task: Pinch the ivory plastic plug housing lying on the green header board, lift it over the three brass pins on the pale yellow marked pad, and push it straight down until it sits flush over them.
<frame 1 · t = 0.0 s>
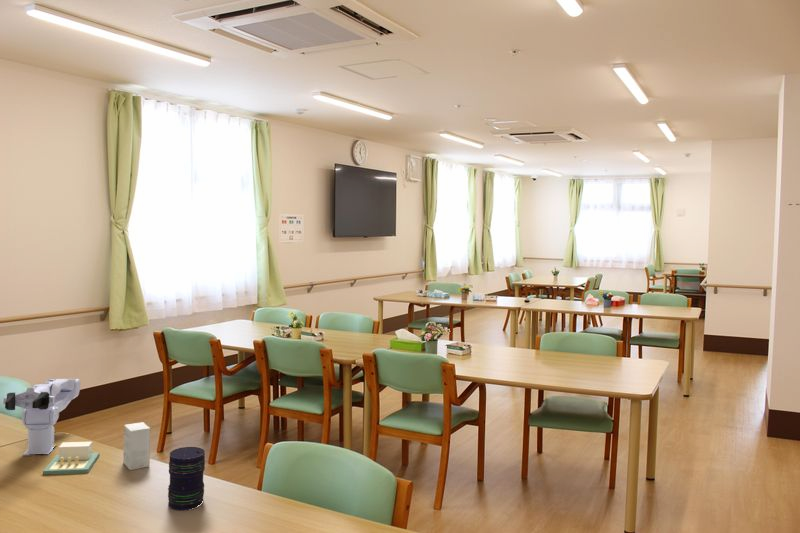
hand: (20, 405, 191), 22 cm above the table, tool horizontal, fingers open, 7 cm apart
housing: (75, 457, 204), point 1 cm above the table, touching header board
small box: (136, 465, 203), on the table
header board: (72, 464, 200), on the table
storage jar: (185, 503, 177), on the table
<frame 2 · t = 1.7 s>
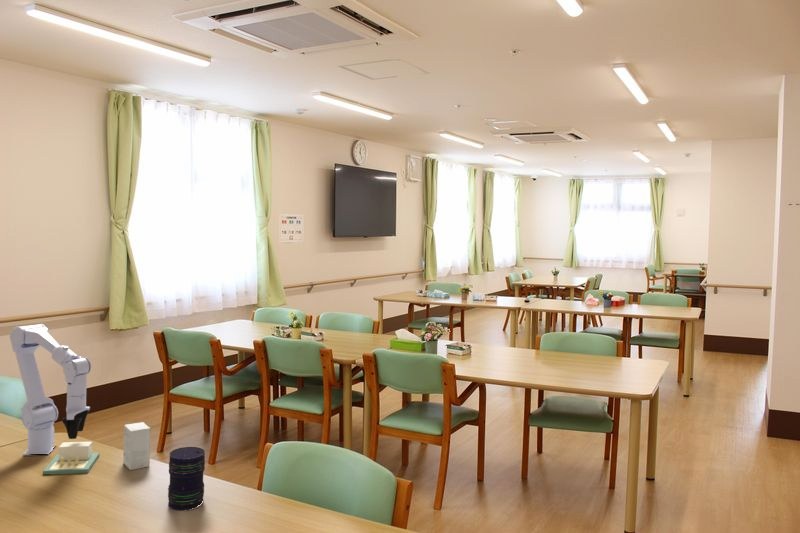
hand: (75, 434, 203), 9 cm above the table, tool pointing down, fingers open, 7 cm apart
nothing on the table moved.
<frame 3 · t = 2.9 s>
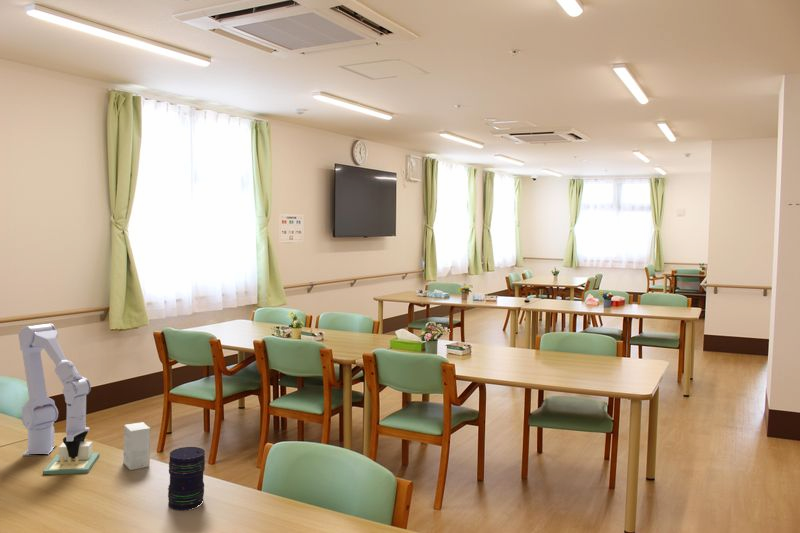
hand: (75, 455, 204), 2 cm above the table, tool pointing down, fingers closed on housing, 5 cm apart
housing: (75, 457, 204), point 1 cm above the table, touching gripper, header board
everything else where it was.
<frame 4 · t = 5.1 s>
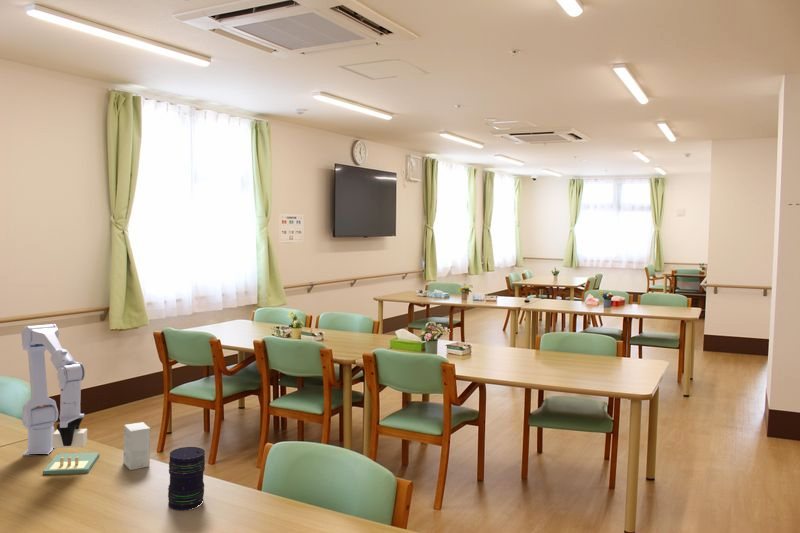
hand: (69, 442, 197), 9 cm above the table, tool pointing down, fingers closed on housing, 5 cm apart
housing: (69, 445, 197), point 8 cm above the table, touching gripper
everything else where it was.
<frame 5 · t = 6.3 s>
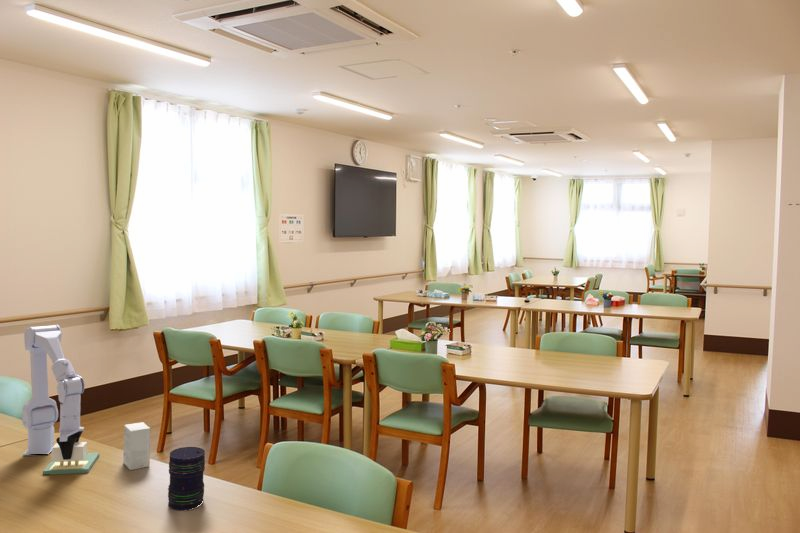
hand: (69, 456, 197), 4 cm above the table, tool pointing down, fingers closed on housing, 5 cm apart
housing: (69, 458, 197), point 3 cm above the table, touching gripper
everything else where it was.
when the fingers open (2 cm above the table, at t = 7.2 s): housing stays where it is, resting on header board.
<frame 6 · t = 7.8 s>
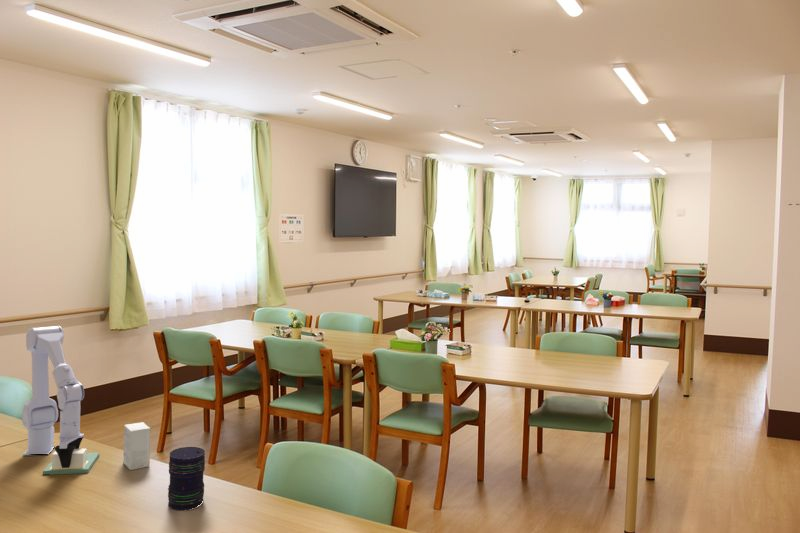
hand: (69, 462, 197), 2 cm above the table, tool pointing down, fingers open, 7 cm apart
housing: (69, 465, 197), point 1 cm above the table, touching header board
everything else where it was.
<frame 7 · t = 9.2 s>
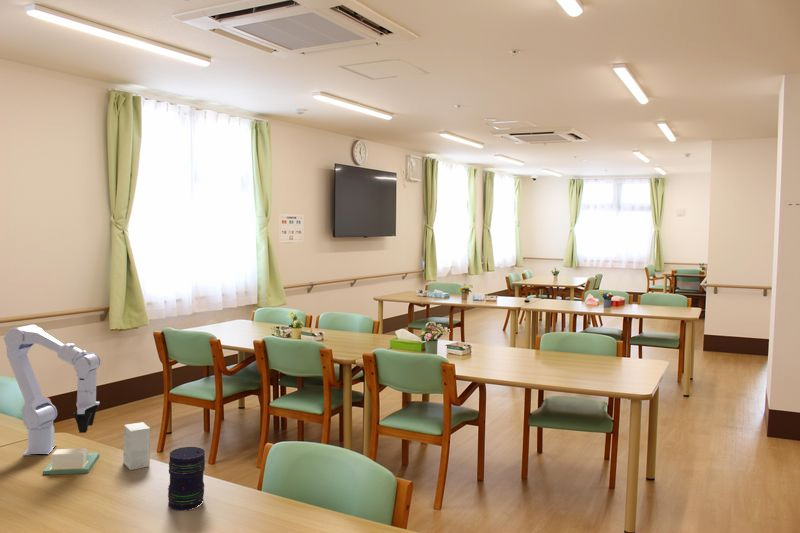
hand: (86, 428, 208), 9 cm above the table, tool pointing down, fingers open, 7 cm apart
nothing on the table moved.
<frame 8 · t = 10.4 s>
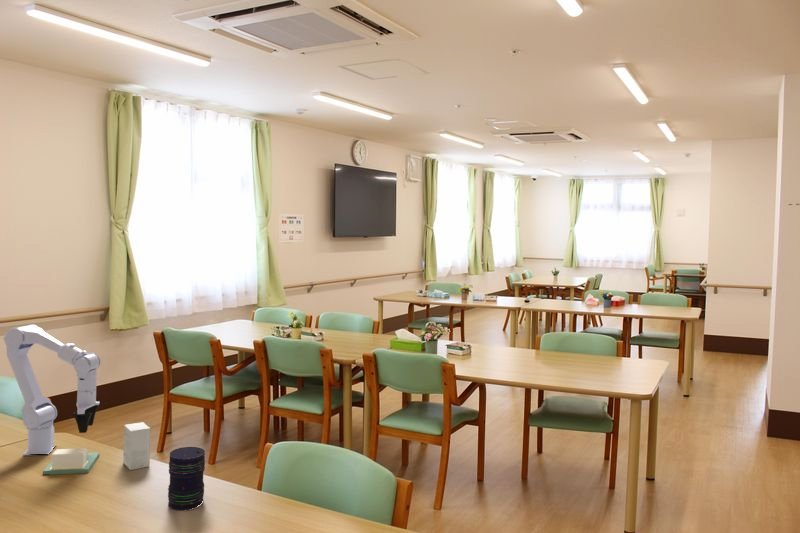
hand: (86, 428, 208), 9 cm above the table, tool pointing down, fingers open, 7 cm apart
nothing on the table moved.
at the end: housing 0.1 cm from the target spot on the header board, point 1.3 cm above the header board's base; housing tilted 0°; the gripper is holding nothing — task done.
